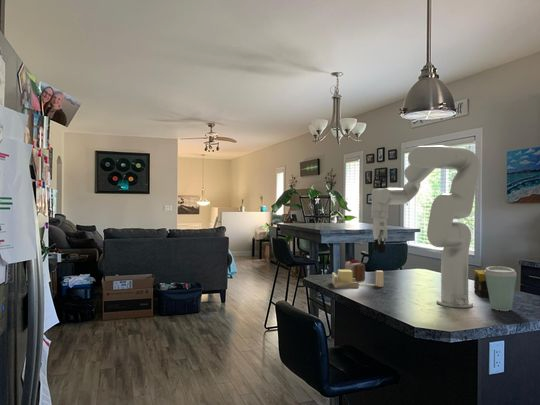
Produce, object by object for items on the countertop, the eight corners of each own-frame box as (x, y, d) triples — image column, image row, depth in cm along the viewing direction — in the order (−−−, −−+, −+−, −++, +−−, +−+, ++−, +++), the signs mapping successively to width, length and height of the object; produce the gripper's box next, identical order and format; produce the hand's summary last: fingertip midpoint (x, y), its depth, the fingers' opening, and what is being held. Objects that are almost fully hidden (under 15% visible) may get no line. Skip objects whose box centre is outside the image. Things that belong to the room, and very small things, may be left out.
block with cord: (384, 287, 185) (384, 272, 185) (339, 286, 186) (339, 271, 186) (381, 284, 191) (381, 270, 191) (338, 284, 192) (338, 269, 192)
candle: (499, 293, 173) (499, 270, 173) (506, 299, 163) (506, 274, 163) (473, 292, 176) (473, 269, 176) (479, 297, 166) (479, 273, 166)
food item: (342, 276, 213) (343, 257, 214) (357, 276, 215) (357, 257, 215) (353, 281, 200) (353, 261, 200) (367, 280, 202) (368, 261, 202)
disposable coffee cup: (522, 313, 141) (522, 270, 141) (488, 311, 143) (488, 269, 143) (511, 306, 151) (511, 266, 151) (480, 304, 153) (480, 265, 153)
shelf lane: (358, 288, 183) (358, 277, 183) (334, 287, 184) (334, 276, 184) (355, 283, 194) (355, 272, 194) (332, 282, 195) (332, 272, 195)
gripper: (392, 215, 180) (391, 254, 180) (383, 214, 197) (383, 249, 197) (375, 215, 180) (374, 253, 180) (368, 214, 197) (367, 249, 197)
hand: (379, 251), depth 189 cm, fingers open, 9 cm apart
